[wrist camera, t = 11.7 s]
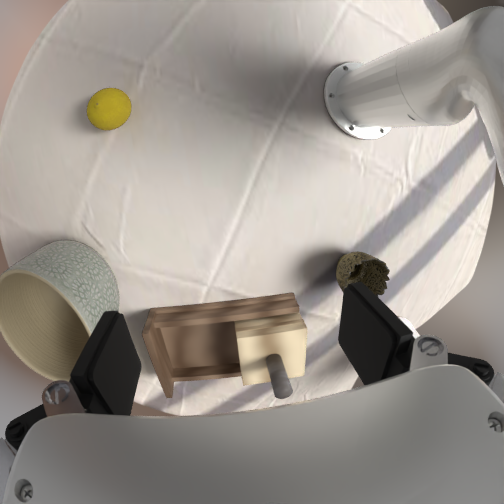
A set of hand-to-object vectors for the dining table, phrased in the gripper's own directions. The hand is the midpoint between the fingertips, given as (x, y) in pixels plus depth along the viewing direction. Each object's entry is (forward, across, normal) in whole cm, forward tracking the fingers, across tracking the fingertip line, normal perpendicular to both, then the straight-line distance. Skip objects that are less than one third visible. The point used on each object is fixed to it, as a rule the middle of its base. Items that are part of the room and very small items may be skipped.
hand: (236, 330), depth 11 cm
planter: (+28, +24, +9) cm, 38 cm away
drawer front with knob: (+27, -5, +22) cm, 35 cm away
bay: (+28, +2, +22) cm, 36 cm away
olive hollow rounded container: (+28, -19, +11) cm, 36 cm away
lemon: (+28, +13, -15) cm, 35 cm away
